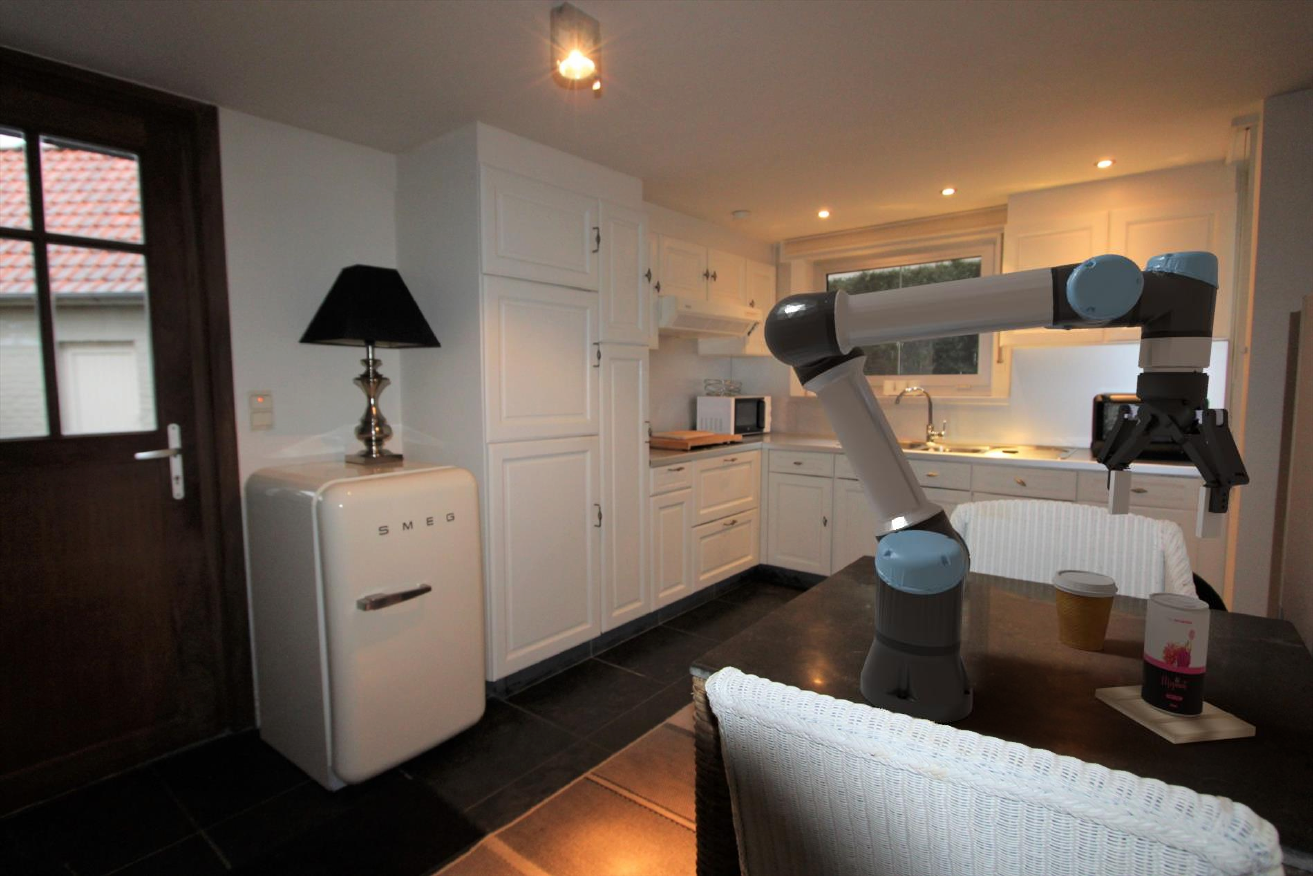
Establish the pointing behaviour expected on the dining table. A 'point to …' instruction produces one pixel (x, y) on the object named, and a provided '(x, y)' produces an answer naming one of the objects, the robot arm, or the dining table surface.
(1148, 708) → the trivet
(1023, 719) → the dining table surface
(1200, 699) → the beverage can
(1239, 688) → the dining table surface
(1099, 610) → the disposable coffee cup
